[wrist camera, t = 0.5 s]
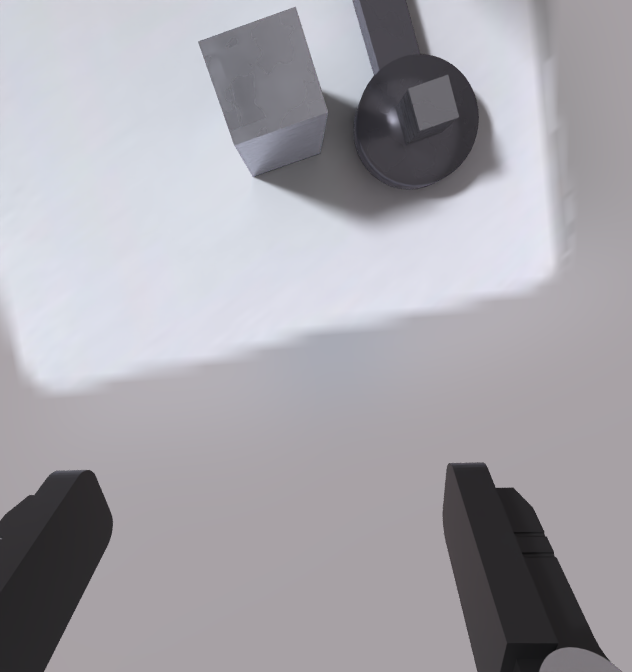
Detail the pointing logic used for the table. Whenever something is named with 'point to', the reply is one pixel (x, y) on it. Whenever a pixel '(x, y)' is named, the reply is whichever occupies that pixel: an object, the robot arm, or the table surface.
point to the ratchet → (409, 103)
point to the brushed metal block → (268, 91)
